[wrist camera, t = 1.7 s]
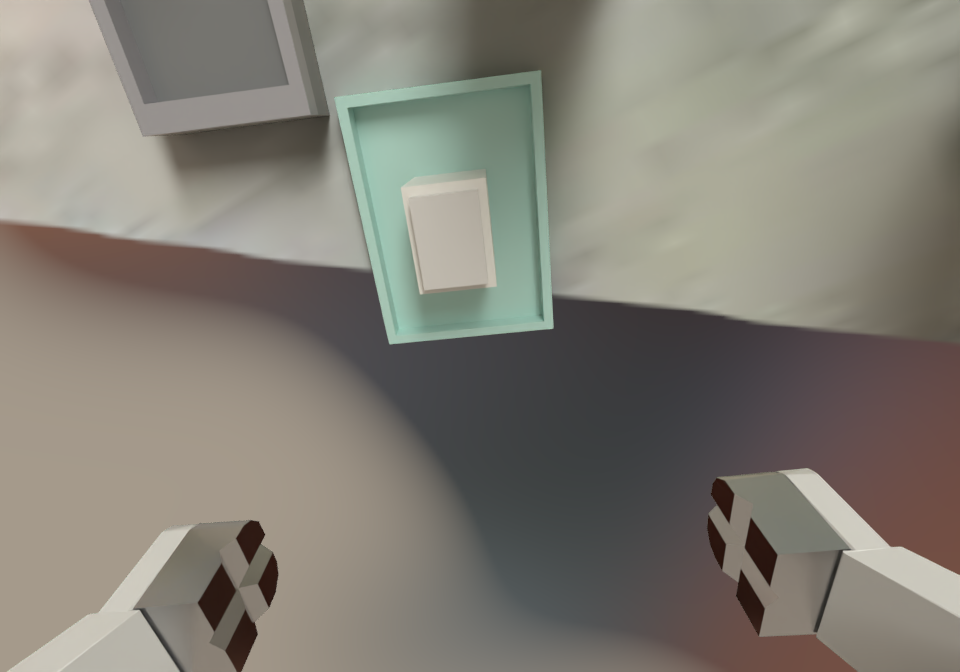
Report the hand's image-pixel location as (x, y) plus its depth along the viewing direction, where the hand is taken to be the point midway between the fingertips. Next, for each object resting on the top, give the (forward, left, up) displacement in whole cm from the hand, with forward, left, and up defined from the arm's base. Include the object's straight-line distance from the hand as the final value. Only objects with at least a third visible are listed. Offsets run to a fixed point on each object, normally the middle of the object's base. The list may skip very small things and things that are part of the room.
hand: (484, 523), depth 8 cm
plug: (+2, -1, -24) cm, 24 cm away
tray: (+2, -1, -24) cm, 24 cm away
